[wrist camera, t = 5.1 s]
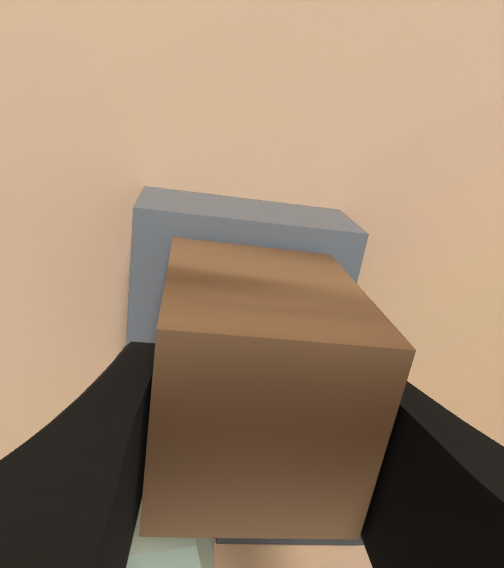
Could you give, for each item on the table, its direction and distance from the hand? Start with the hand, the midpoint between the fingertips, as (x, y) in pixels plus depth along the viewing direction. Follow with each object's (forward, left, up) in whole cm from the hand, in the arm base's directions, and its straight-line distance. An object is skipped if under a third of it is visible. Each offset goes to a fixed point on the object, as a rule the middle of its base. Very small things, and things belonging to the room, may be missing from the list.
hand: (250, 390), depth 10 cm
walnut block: (0, 0, -3) cm, 3 cm away
